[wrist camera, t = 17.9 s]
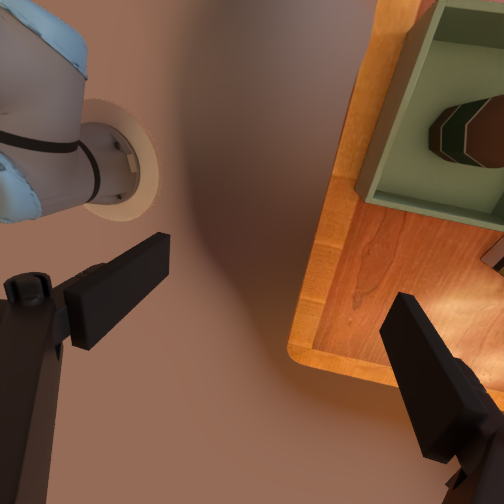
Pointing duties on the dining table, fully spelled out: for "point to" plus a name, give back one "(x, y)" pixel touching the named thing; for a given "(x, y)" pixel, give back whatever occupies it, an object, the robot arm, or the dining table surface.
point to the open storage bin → (430, 108)
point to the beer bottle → (471, 133)
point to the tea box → (495, 257)
